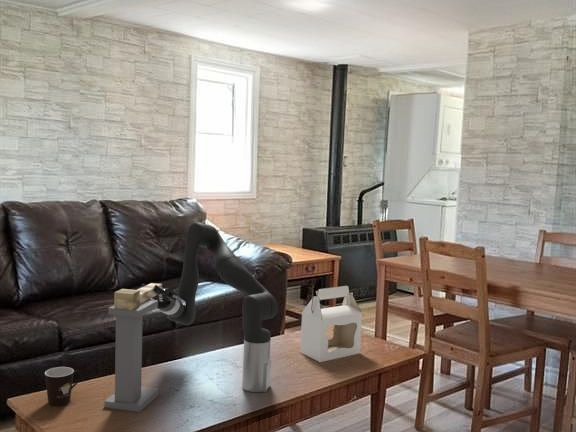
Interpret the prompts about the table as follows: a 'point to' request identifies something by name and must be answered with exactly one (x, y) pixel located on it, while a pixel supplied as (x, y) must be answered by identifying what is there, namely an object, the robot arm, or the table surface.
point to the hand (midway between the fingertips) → (148, 287)
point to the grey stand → (130, 360)
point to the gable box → (321, 319)
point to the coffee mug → (60, 385)
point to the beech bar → (134, 296)
